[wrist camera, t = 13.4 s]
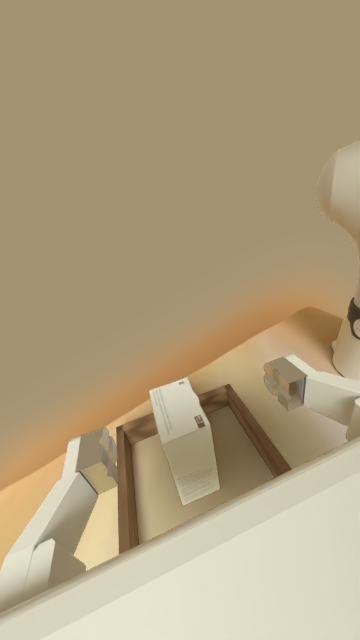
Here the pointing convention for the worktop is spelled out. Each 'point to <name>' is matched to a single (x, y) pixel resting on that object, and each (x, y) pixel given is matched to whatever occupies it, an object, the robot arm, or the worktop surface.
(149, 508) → the worktop surface
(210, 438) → the skincare box
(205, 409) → the walnut bay
